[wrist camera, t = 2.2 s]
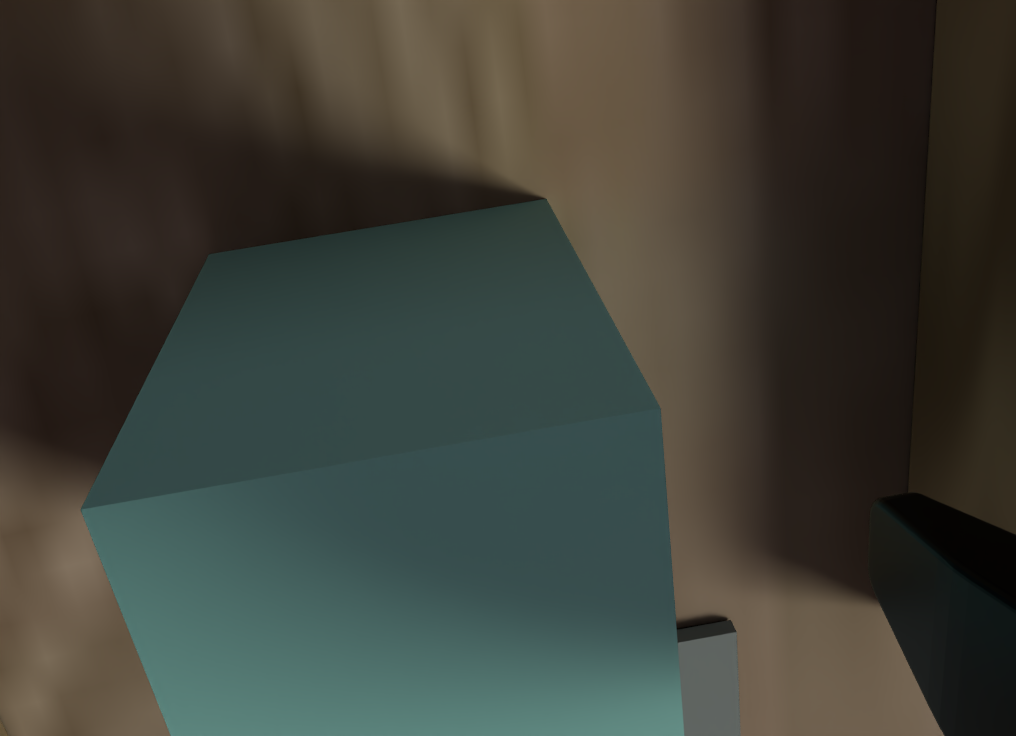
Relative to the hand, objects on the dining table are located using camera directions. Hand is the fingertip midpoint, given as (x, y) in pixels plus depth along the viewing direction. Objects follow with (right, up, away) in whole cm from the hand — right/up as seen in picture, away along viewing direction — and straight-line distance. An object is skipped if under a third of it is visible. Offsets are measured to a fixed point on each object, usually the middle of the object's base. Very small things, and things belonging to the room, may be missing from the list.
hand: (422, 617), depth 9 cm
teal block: (-1, +2, +5) cm, 5 cm away
